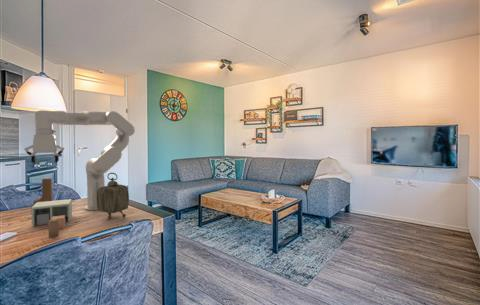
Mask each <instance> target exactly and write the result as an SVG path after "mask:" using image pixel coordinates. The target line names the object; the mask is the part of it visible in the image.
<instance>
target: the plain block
mask: <svg viewBox="0 0 480 305" xmlns="http://www.w3.org/2000/svg"><path fill="white" fill-rule="evenodd" d="M49 220H50V212H42V213H38V214H37V223H36V225H37V226H38V225H45V224H46V225H48V221H49Z"/></svg>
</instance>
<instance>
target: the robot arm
mask: <svg viewBox="0 0 480 305" xmlns="http://www.w3.org/2000/svg"><path fill="white" fill-rule="evenodd" d="M34 122H35V123H34V125H35V134H34V135H33V139H32V145H30V146H28V147H25V148H24V151H25V153H26V154H27V155H29V156H30V158H31V159H30V161H31V163H32V164H36V163H37V162H36V155H37V154H44V153H45V154H47V153H50V154H51V153H52V154H54V155H55V156H54V162H55V164H57V163H58V162H59V161H60V157H59V156H60V155H61V154H62V153H63V152H64V150H65V147H62V146H60V145H58V144H57V138H56V135H55V134H56V133H57V130H54V124H55V125H58V126H59V125H60V126H62V125H63V126H68V125H69V126H72V125H74V126H78V125H79V126H113V128H115V133H116V136H115V139H114V140H112V142H110V144H108V145H107V146H106V147H104V148H103V149H102V150H101V152H100V155H99V156H98V157H97V158H96V157H95V158H94V157H93V158H91V159H89V160H88V161H87V162H86V165H85V172H86V187H87V188H86V191H87V193H86V194H87V205H85V206H84V210H86V211H99V210H98V208H97V190H98V189H99V188H100V187H103V186H106V185H105V182H106V181H105V180H106V179H105V174H106V173H107V172H109V171H110V169H111V168H113V167H115V164H117V163H118V162H119V161H120V159H122V155H123V154H122V152H123V151H124V150H125V149H126V148H127V147H128V145H129V141H130V137H131V136H133V135H134V134H135V127H134V125H133V124H132V123H131V122H130V121H128V120H127V119H126V118H125V117H123V115H122V114H120V113H119V112H117V111H113V110H111V111H89V110H87V111H86V110H85V111H79V112H67V111H64V110H48V109H47V110H46V109H36V110H35V111H34ZM53 123H54V124H53ZM30 149H32V152H31V151H30ZM58 149H59V151H58ZM57 151H58V152H57Z"/></svg>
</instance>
